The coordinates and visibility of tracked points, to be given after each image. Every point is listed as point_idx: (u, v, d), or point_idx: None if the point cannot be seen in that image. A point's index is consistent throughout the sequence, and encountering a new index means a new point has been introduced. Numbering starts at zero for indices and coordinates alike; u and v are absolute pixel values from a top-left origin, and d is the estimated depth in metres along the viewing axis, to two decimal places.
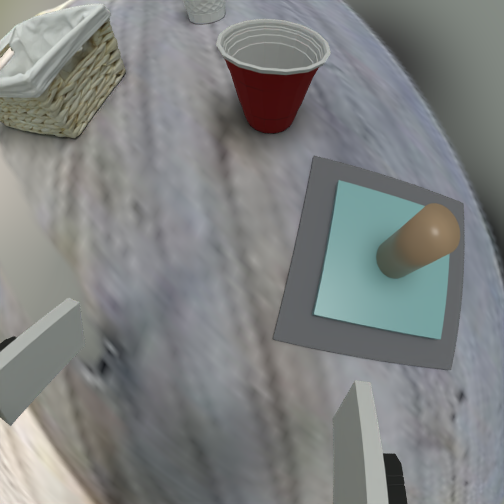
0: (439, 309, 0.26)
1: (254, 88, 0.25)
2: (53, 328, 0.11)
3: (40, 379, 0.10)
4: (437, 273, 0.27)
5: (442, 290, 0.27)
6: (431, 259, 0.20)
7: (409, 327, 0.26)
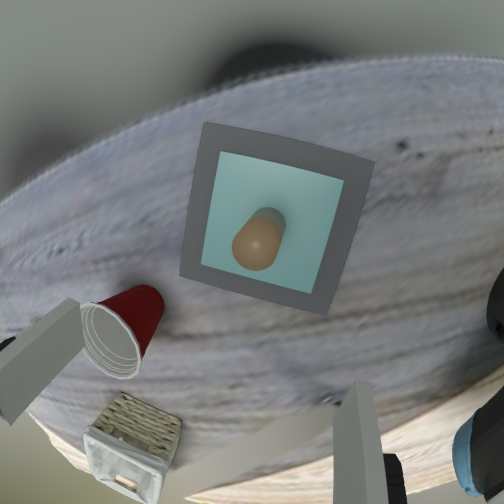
0: (315, 180, 0.32)
1: (146, 347, 0.35)
2: (53, 328, 0.11)
3: (40, 379, 0.10)
4: (281, 177, 0.33)
5: (298, 174, 0.32)
6: (279, 247, 0.27)
7: (329, 214, 0.33)
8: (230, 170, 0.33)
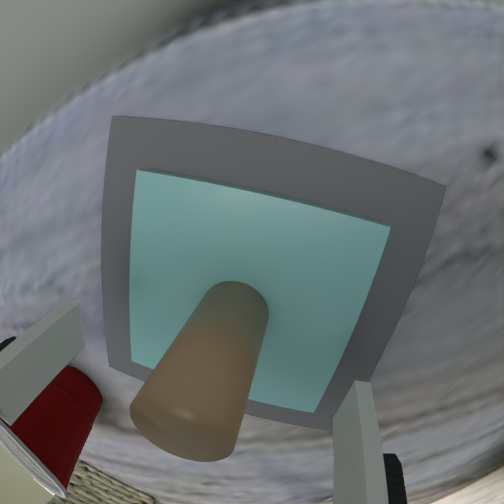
0: (331, 227, 0.15)
1: (73, 464, 0.18)
2: (53, 328, 0.11)
3: (40, 379, 0.10)
4: (257, 222, 0.16)
5: (293, 214, 0.15)
6: (243, 414, 0.10)
7: (356, 295, 0.16)
8: (156, 208, 0.16)
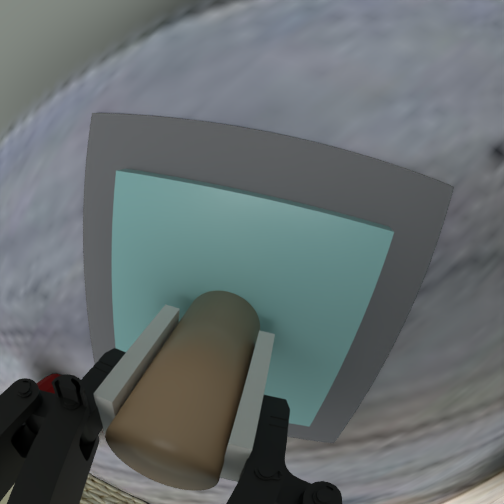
0: (329, 232, 0.14)
1: None
2: (161, 336, 0.12)
3: None
4: (246, 226, 0.14)
5: (286, 218, 0.14)
6: None
7: (355, 306, 0.14)
8: (137, 211, 0.15)
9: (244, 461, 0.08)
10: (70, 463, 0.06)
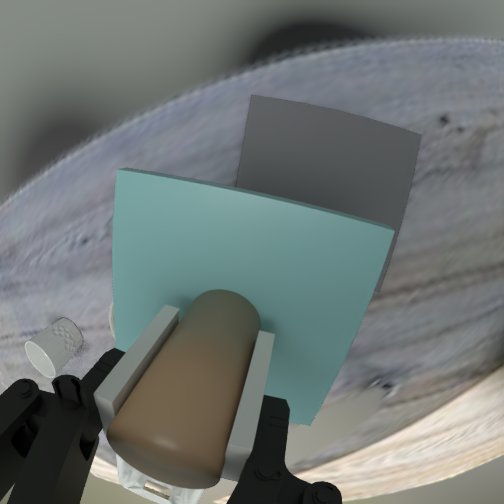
0: (329, 231, 0.14)
1: None
2: (161, 336, 0.12)
3: None
4: (247, 225, 0.14)
5: (287, 216, 0.14)
6: None
7: (356, 305, 0.15)
8: (138, 210, 0.15)
9: (244, 461, 0.08)
10: (70, 463, 0.06)
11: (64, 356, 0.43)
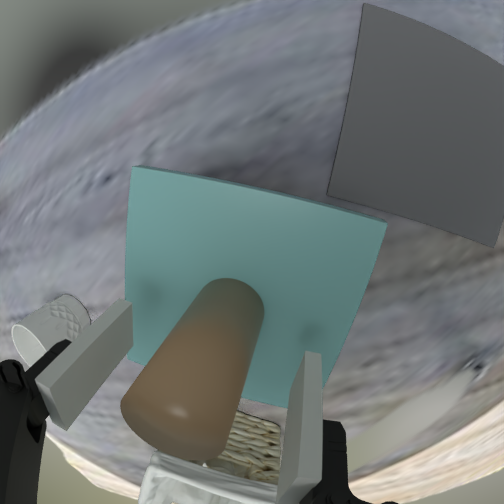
0: (327, 223, 0.15)
1: None
2: (109, 329, 0.12)
3: (95, 381, 0.11)
4: (252, 218, 0.15)
5: (289, 210, 0.15)
6: (235, 412, 0.10)
7: (352, 293, 0.16)
8: (151, 204, 0.16)
9: (309, 490, 0.07)
10: (21, 443, 0.06)
11: None
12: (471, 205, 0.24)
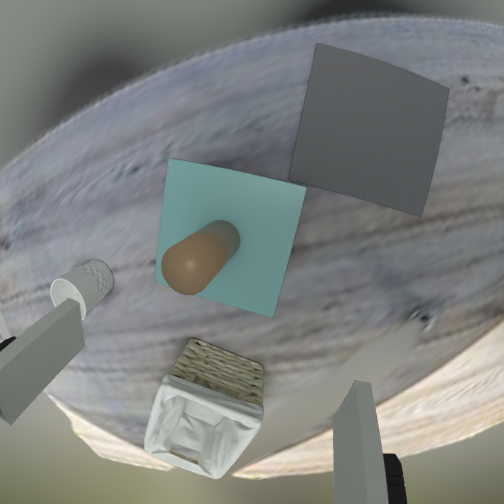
0: (272, 187, 0.28)
1: None
2: (53, 328, 0.11)
3: (40, 379, 0.10)
4: (233, 186, 0.29)
5: (252, 181, 0.28)
6: (216, 267, 0.23)
7: (289, 228, 0.29)
8: (179, 179, 0.30)
9: None
10: None
11: (96, 296, 0.44)
12: (397, 184, 0.38)
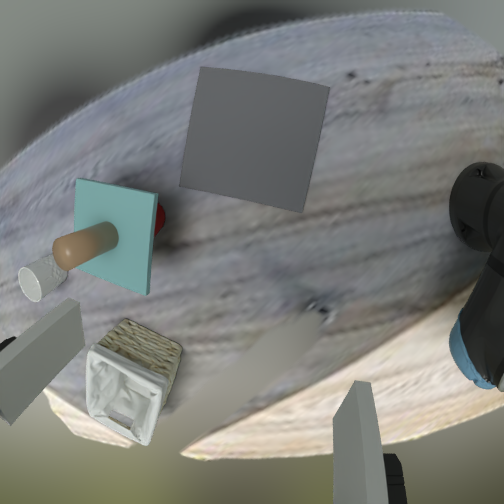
0: (134, 196, 0.36)
1: None
2: (53, 328, 0.11)
3: (40, 379, 0.10)
4: (111, 196, 0.37)
5: (121, 192, 0.36)
6: (82, 253, 0.31)
7: (146, 225, 0.37)
8: (82, 193, 0.38)
9: None
10: None
11: (50, 282, 0.52)
12: (274, 184, 0.45)
